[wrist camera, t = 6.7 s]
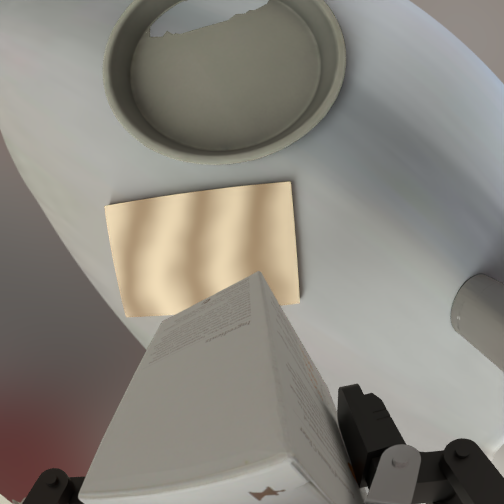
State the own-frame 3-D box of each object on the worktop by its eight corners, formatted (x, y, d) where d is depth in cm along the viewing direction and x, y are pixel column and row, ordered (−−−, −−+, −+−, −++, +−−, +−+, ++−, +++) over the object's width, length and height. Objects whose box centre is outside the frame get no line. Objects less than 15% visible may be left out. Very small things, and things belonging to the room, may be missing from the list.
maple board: (289, 181, 31) (290, 181, 30) (298, 300, 34) (299, 303, 33) (108, 205, 32) (104, 206, 31) (128, 313, 34) (126, 317, 33)
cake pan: (367, 35, 28) (381, 19, 23) (268, 208, 32) (272, 213, 28) (190, -38, 25) (184, -58, 20) (82, 115, 29) (63, 108, 25)
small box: (161, 318, 15) (65, 493, 4) (261, 265, 14) (291, 454, 4) (241, 423, 16) (239, 584, 6) (329, 386, 16) (386, 550, 5)
